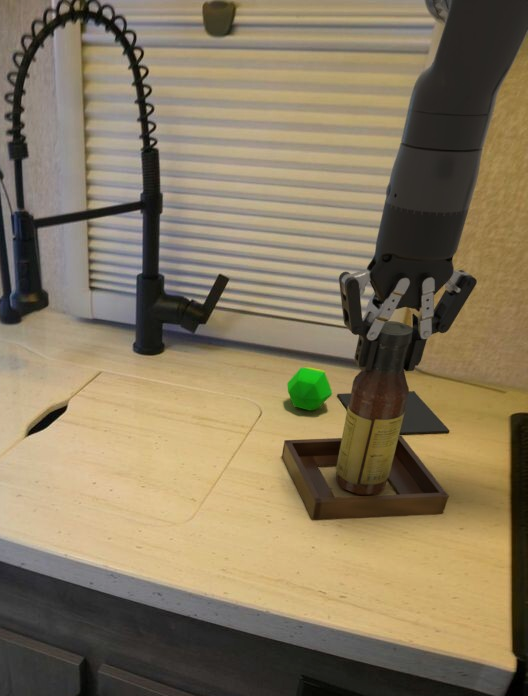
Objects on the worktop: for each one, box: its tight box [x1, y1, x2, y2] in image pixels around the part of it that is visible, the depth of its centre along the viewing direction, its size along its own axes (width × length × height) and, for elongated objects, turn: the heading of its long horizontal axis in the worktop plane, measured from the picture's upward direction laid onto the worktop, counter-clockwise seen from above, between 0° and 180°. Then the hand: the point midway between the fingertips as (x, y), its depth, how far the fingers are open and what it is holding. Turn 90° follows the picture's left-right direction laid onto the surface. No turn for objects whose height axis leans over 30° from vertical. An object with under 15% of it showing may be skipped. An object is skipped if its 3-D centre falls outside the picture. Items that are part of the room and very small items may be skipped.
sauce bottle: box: [335, 320, 413, 496], centre depth 76 cm, size 6×6×20 cm
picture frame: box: [281, 435, 450, 521], centre depth 81 cm, size 16×14×2 cm
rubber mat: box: [336, 390, 451, 436], centre depth 96 cm, size 12×12×1 cm
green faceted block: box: [286, 366, 333, 411], centre depth 97 cm, size 7×6×9 cm
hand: (385, 367), depth 73 cm, fingers closed on sauce bottle, 4 cm apart
